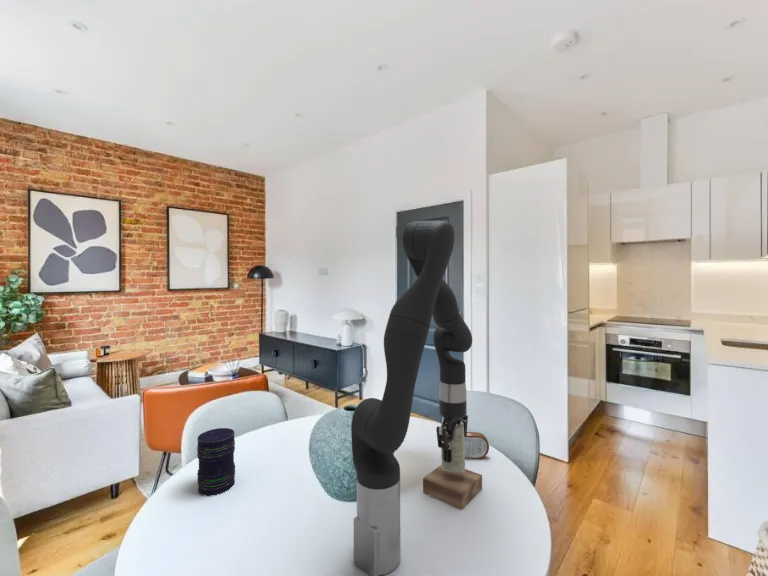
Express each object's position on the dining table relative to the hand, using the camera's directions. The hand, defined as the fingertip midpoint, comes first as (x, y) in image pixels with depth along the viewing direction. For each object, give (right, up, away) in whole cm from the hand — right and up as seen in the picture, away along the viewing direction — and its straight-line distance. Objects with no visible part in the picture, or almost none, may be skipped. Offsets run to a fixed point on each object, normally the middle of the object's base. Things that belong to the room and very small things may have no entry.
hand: (453, 457), depth 100 cm
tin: (+8, -10, +19) cm, 23 cm away
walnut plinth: (0, -10, 0) cm, 10 cm away
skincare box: (0, -3, 0) cm, 3 cm away
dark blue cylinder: (-68, -10, +3) cm, 69 cm away
